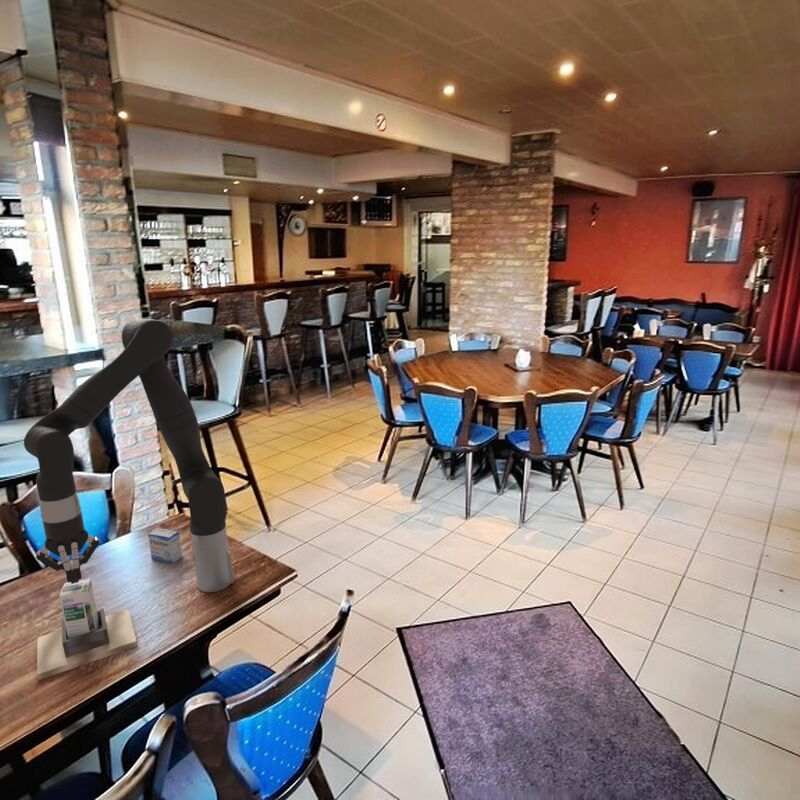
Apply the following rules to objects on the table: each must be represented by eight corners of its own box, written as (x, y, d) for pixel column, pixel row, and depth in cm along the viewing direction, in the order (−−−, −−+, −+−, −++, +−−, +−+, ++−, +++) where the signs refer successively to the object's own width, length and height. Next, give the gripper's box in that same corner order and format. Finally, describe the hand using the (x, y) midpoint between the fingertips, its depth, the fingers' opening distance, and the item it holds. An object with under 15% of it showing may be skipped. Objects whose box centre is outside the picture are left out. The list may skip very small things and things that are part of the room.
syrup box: (69, 650, 130) (58, 596, 126) (74, 634, 135) (63, 581, 131) (97, 644, 132) (86, 591, 128) (101, 628, 137) (91, 576, 133)
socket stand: (129, 614, 145) (126, 595, 143) (137, 646, 133) (134, 626, 132) (38, 642, 135) (34, 623, 133) (38, 680, 123) (33, 659, 122)
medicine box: (151, 559, 169) (147, 534, 167) (161, 552, 173) (157, 527, 171) (173, 563, 167) (169, 537, 164) (183, 556, 171) (179, 530, 169)
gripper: (94, 499, 131) (105, 565, 136) (26, 514, 124) (41, 582, 129) (96, 512, 125) (108, 580, 129) (25, 528, 118) (41, 599, 123)
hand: (75, 581), depth 129 cm, fingers closed
